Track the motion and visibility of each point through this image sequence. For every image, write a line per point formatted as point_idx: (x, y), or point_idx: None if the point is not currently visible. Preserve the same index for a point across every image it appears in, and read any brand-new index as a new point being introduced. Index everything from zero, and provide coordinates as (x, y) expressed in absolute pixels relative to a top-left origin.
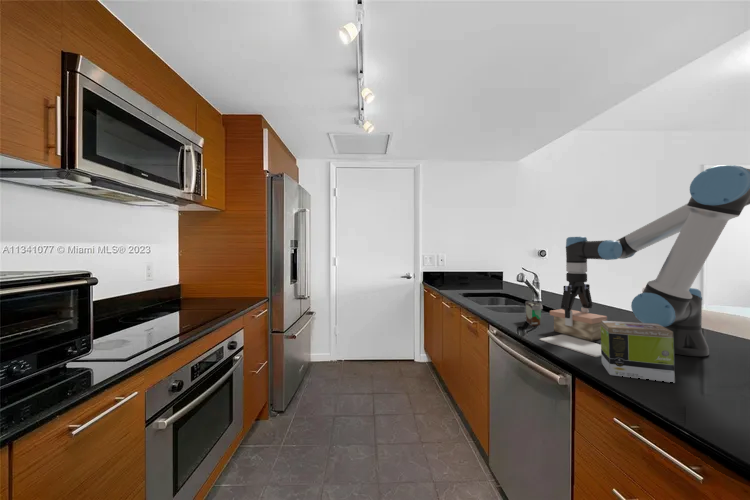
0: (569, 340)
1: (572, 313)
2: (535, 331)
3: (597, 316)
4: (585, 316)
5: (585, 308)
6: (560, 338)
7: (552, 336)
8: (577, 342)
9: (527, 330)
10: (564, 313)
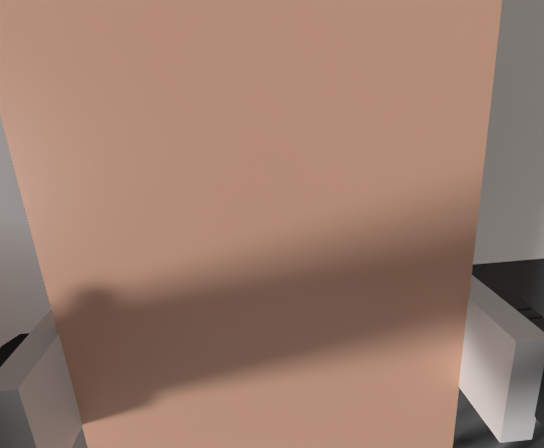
0: (524, 117)
1: (486, 311)
2: (462, 409)
3: (183, 39)
4: (388, 143)
5: (33, 419)
6: (527, 190)
7: (523, 255)
8: (526, 44)
9: (486, 442)
10: (450, 413)
